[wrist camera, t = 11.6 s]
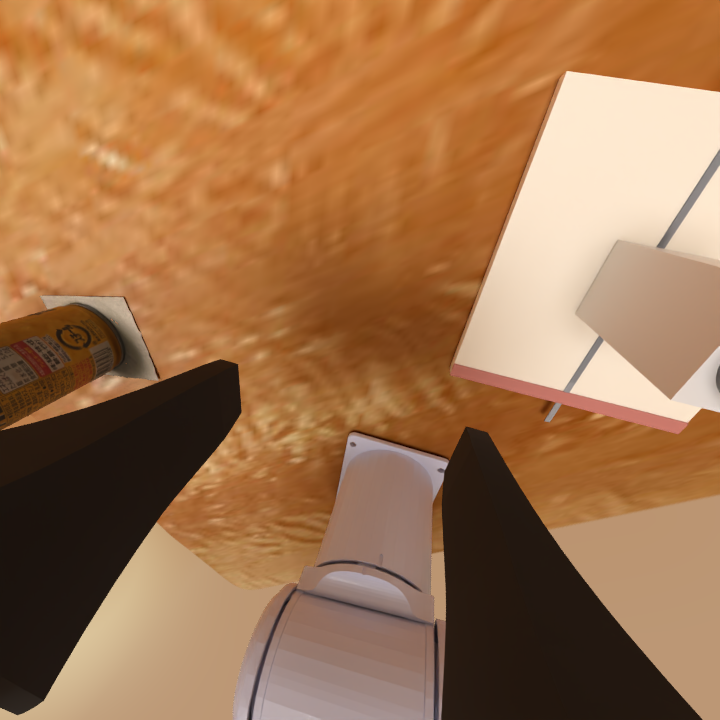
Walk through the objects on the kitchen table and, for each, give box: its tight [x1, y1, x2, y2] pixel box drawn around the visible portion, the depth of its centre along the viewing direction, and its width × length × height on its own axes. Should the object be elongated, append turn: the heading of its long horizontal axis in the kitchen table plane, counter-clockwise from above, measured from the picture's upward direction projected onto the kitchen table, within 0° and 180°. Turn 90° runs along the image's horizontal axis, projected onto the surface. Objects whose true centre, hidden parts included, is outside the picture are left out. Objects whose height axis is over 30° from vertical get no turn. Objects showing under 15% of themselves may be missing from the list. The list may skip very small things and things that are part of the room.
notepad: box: [450, 71, 720, 434], centre depth 14 cm, size 17×13×1 cm
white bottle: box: [575, 240, 720, 412], centre depth 10 cm, size 4×4×9 cm
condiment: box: [0, 296, 158, 431], centre depth 20 cm, size 7×8×12 cm
